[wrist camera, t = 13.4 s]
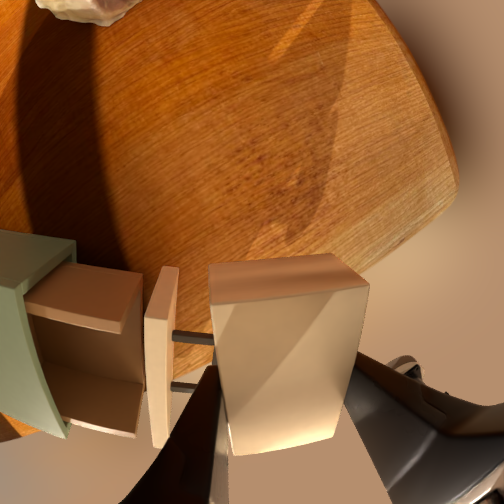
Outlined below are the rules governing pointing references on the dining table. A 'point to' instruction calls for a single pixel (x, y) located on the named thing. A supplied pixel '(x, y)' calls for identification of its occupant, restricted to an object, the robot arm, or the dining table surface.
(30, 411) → the cabinet
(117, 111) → the dining table surface
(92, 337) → the drawer
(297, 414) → the beige rectangular block
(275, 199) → the dining table surface
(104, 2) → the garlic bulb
